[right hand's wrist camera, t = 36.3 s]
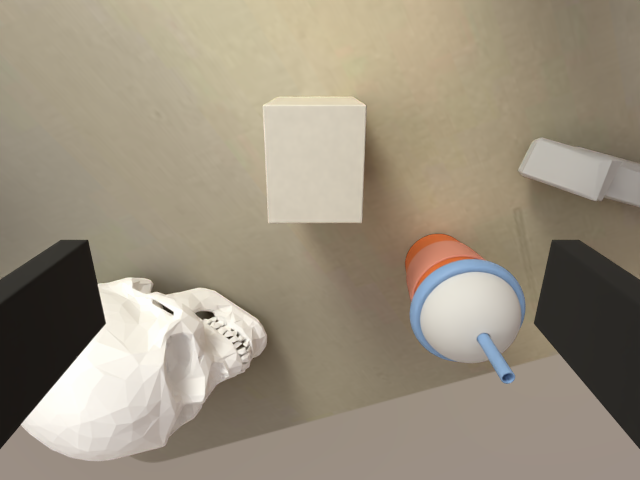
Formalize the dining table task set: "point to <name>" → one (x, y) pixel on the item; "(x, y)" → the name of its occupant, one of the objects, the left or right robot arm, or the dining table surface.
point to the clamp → (582, 171)
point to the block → (314, 159)
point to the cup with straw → (462, 303)
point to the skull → (144, 371)
